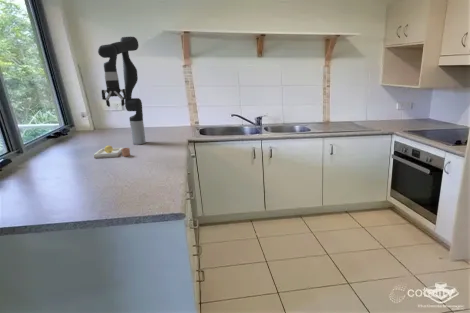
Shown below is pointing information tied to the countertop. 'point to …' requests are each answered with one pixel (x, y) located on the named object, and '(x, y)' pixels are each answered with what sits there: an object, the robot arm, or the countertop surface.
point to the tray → (103, 154)
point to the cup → (125, 152)
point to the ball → (108, 149)
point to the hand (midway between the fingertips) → (115, 106)
